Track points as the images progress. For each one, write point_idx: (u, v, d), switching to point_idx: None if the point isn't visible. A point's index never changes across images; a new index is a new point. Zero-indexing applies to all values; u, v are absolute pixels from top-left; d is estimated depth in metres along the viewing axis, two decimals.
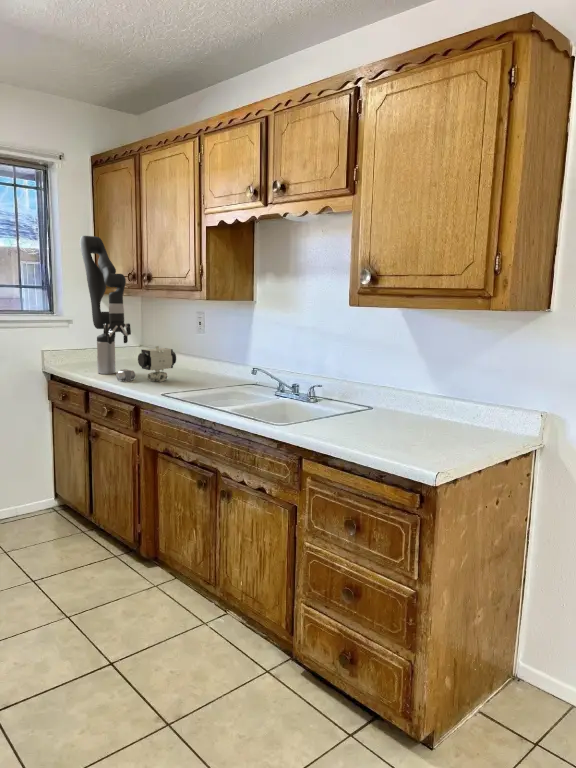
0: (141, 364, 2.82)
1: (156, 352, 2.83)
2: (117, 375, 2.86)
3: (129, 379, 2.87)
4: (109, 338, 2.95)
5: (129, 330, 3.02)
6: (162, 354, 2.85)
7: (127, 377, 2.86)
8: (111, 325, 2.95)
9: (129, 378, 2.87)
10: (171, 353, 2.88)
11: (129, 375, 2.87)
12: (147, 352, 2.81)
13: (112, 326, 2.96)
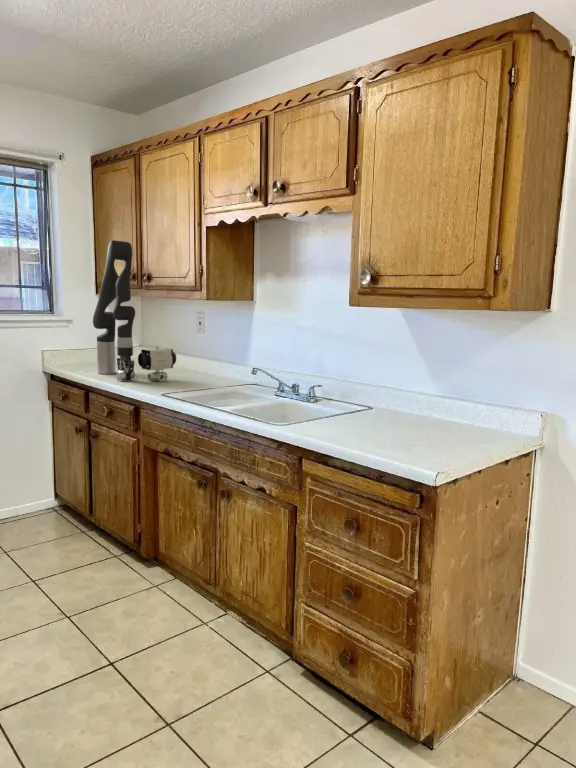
0: (141, 364, 2.82)
1: (156, 352, 2.83)
2: (117, 375, 2.86)
3: None
4: (130, 374, 2.86)
5: None
6: (162, 354, 2.85)
7: None
8: None
9: None
10: (171, 353, 2.88)
11: None
12: (147, 352, 2.81)
13: None
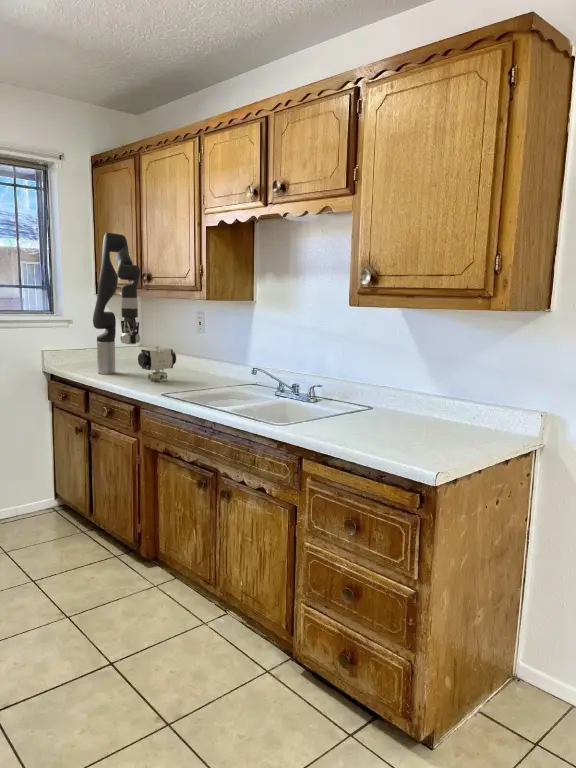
0: (141, 364, 2.82)
1: (156, 352, 2.83)
2: (121, 338, 2.73)
3: None
4: None
5: None
6: (162, 354, 2.85)
7: None
8: None
9: None
10: (171, 353, 2.88)
11: None
12: (147, 352, 2.81)
13: None
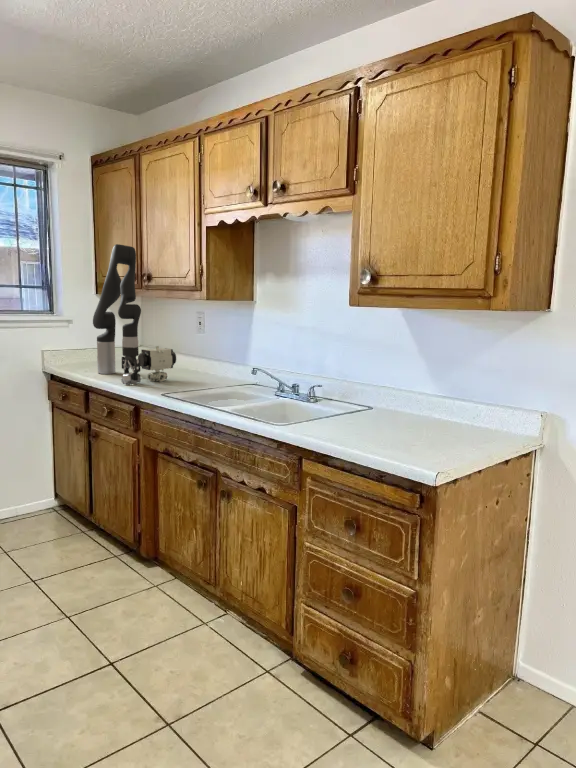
0: (141, 364, 2.82)
1: (156, 352, 2.83)
2: (122, 378, 2.76)
3: (135, 382, 2.77)
4: None
5: None
6: (162, 354, 2.85)
7: (132, 380, 2.76)
8: None
9: (135, 381, 2.77)
10: (171, 353, 2.88)
11: None
12: (147, 352, 2.81)
13: None
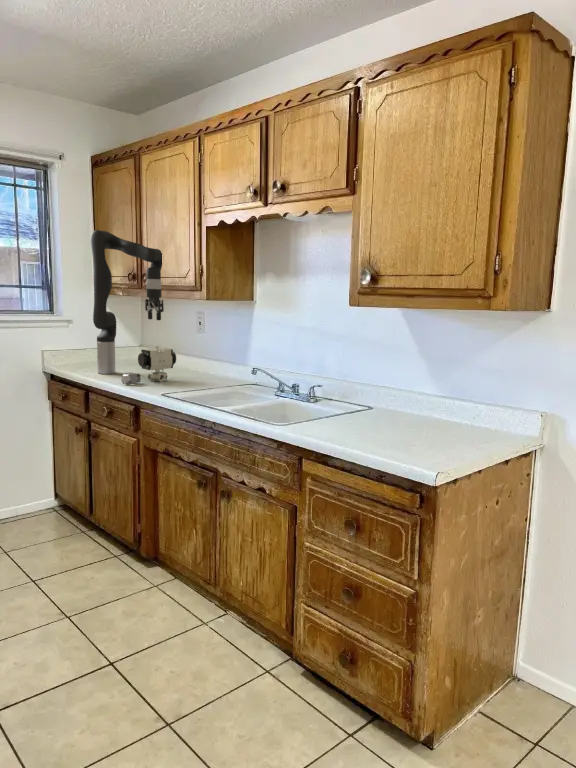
0: (141, 364, 2.82)
1: (156, 352, 2.83)
2: (122, 378, 2.76)
3: (134, 382, 2.77)
4: (160, 314, 2.94)
5: None
6: (162, 354, 2.85)
7: (132, 380, 2.76)
8: None
9: (134, 381, 2.77)
10: (171, 353, 2.88)
11: (135, 378, 2.77)
12: (147, 352, 2.81)
13: None
